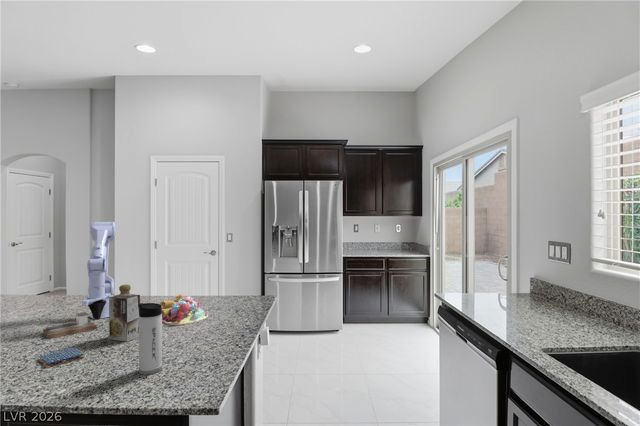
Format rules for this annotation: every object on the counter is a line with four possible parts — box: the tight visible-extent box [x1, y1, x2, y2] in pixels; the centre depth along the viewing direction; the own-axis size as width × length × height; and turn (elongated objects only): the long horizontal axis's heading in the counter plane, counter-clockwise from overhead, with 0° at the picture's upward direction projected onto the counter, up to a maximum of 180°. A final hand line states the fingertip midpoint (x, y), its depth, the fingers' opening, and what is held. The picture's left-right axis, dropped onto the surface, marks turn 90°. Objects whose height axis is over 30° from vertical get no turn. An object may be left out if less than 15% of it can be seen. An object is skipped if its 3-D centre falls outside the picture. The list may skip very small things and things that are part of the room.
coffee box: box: [108, 293, 141, 342], centre depth 135 cm, size 9×6×16 cm
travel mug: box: [138, 302, 163, 375], centre depth 107 cm, size 6×7×20 cm
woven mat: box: [38, 346, 85, 368], centre depth 115 cm, size 10×11×2 cm
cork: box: [118, 284, 132, 294], centre depth 182 cm, size 6×6×11 cm
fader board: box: [42, 318, 98, 340], centre depth 143 cm, size 16×10×2 cm, turn 137°
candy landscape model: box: [159, 293, 209, 326], centre depth 163 cm, size 25×24×9 cm
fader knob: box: [75, 311, 89, 325], centre depth 146 cm, size 3×4×4 cm
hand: (96, 318), depth 150 cm, fingers closed
